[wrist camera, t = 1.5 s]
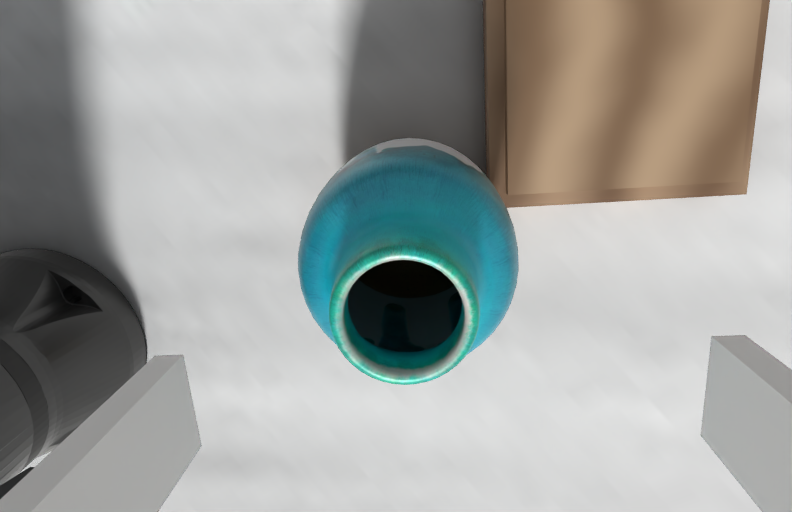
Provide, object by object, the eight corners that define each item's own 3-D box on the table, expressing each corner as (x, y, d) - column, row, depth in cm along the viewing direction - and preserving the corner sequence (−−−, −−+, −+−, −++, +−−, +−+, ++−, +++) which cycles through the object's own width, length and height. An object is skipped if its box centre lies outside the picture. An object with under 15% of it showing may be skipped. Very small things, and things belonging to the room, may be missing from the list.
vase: (313, 160, 36) (202, 226, 18) (462, 108, 34) (511, 119, 16) (366, 298, 39) (318, 478, 20) (506, 255, 37) (590, 407, 19)
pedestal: (487, 202, 36) (492, 211, 33) (481, -59, 32) (487, -75, 29) (728, 189, 35) (755, 196, 32) (759, -85, 30) (793, -104, 28)
